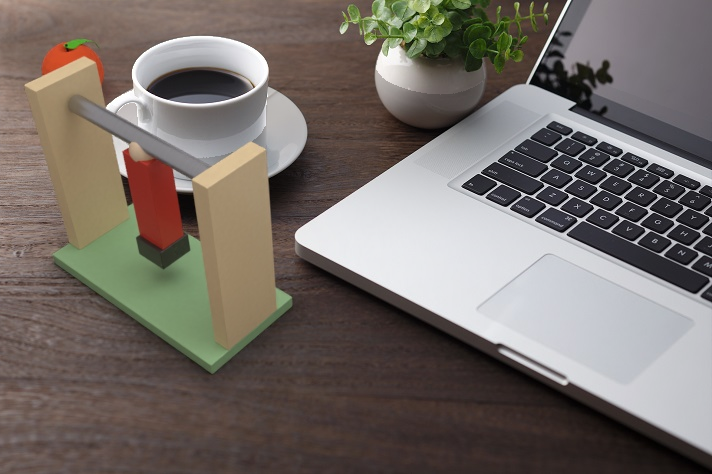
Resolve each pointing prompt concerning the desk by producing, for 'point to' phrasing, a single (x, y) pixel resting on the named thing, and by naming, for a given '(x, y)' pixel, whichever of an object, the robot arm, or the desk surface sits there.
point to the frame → (119, 231)
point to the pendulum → (148, 181)
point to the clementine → (70, 56)
